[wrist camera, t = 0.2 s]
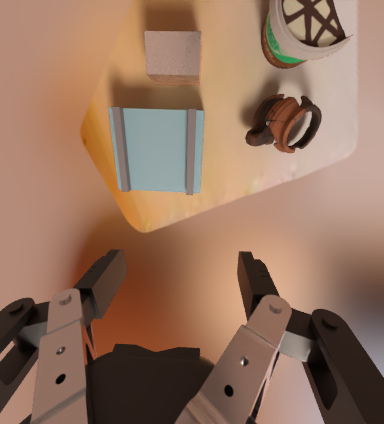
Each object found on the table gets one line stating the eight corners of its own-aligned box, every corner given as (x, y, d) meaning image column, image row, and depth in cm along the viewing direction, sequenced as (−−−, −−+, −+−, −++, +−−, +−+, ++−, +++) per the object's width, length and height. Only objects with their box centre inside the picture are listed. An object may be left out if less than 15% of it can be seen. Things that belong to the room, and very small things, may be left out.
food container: (238, 24, 29) (254, -28, 20) (273, -10, 27) (308, -85, 18) (276, 95, 32) (304, 78, 23) (309, 68, 31) (355, 39, 21)
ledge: (121, 111, 35) (103, 106, 29) (204, 114, 34) (204, 109, 28) (128, 183, 40) (115, 191, 34) (200, 186, 40) (199, 195, 34)
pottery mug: (288, 80, 32) (331, 85, 26) (288, 130, 38) (322, 143, 33) (230, 115, 32) (259, 128, 26) (239, 159, 38) (264, 177, 33)
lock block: (155, 49, 31) (144, 31, 26) (201, 50, 31) (201, 31, 25) (156, 84, 33) (146, 74, 27) (200, 85, 33) (199, 75, 27)
